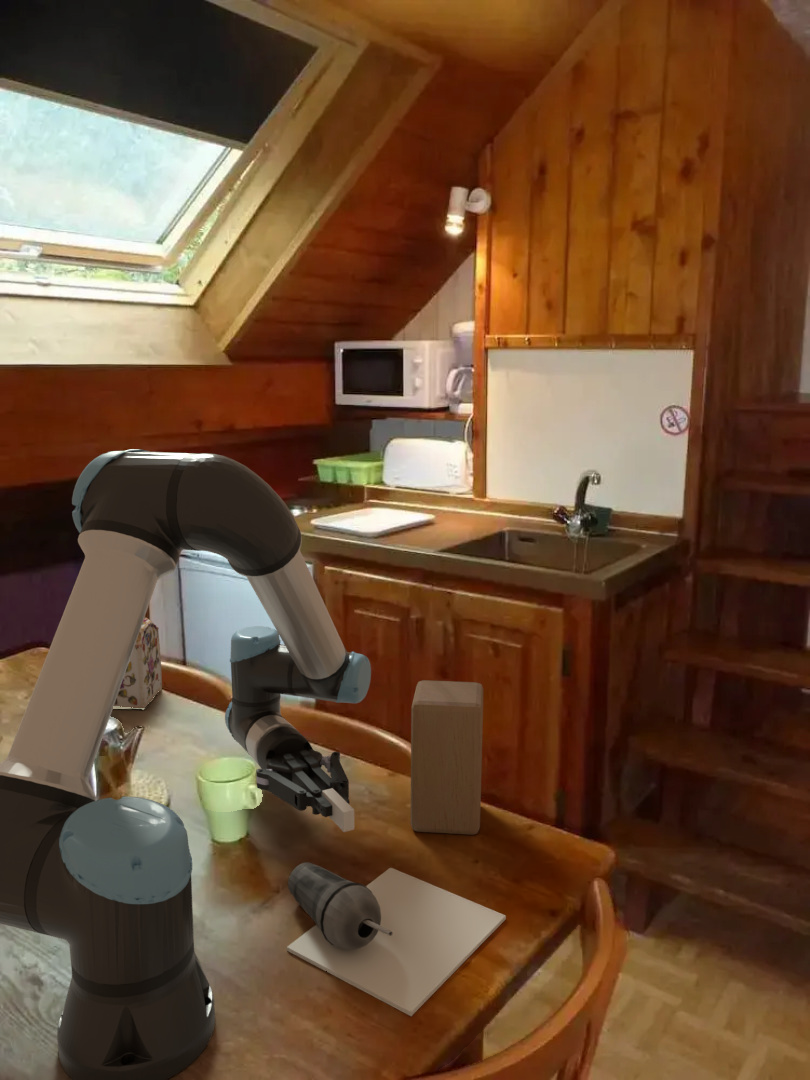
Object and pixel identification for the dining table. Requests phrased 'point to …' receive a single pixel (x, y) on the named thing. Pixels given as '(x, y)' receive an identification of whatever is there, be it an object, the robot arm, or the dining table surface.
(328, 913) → the tumbler with straw
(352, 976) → the mat
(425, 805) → the block
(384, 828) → the dining table surface
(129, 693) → the decorative jar
